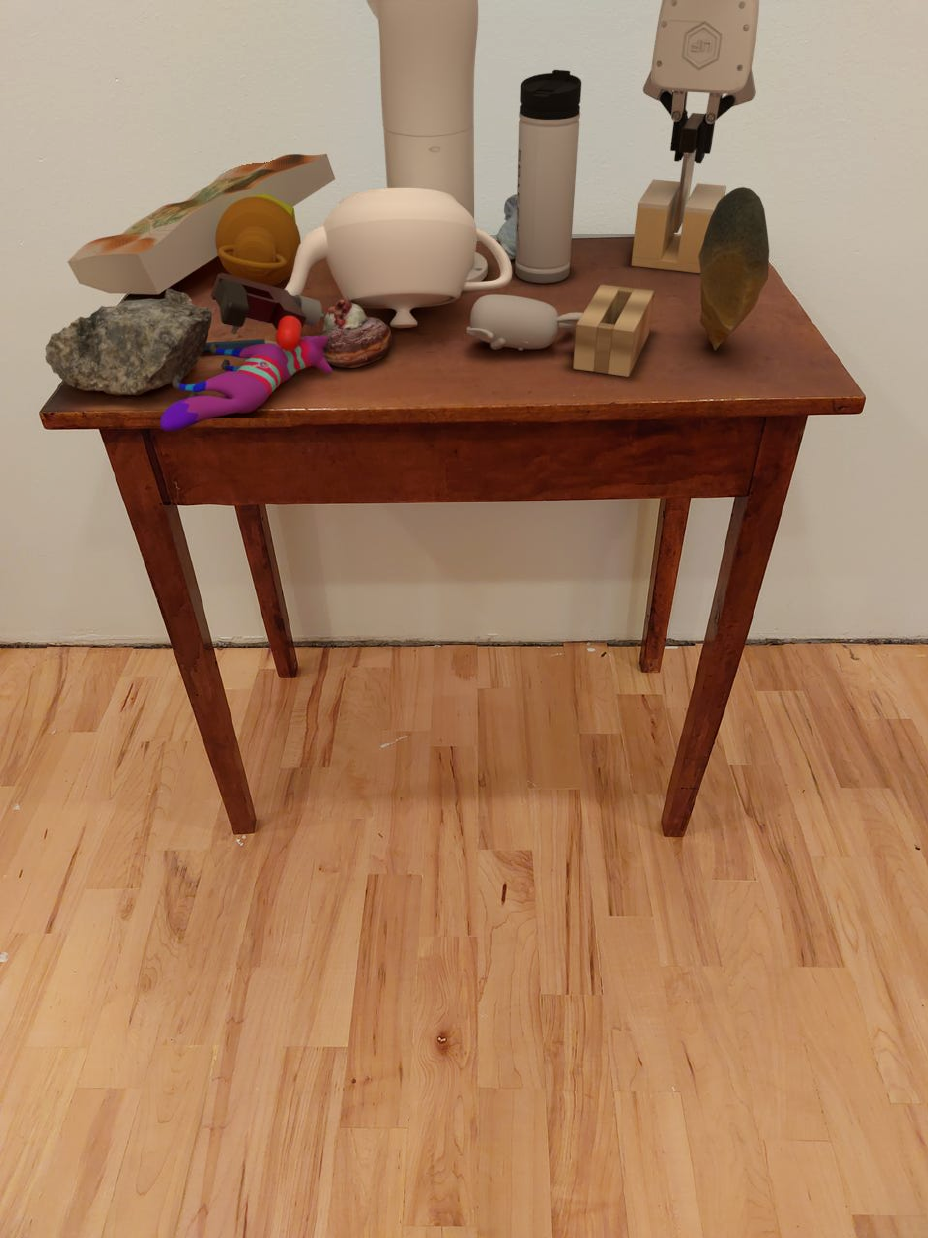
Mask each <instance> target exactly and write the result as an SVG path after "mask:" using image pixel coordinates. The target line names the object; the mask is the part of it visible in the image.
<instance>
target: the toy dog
mask: <svg viewBox="0 0 928 1238" xmlns="http://www.w3.org/2000/svg"><path fill="white" fill-rule="evenodd" d="M327 341H328V337H324V336H320V337H317V336H312V335H306V336H304V337H302V338H300V343H299V345H298V347H297V348H296V349H295V350H293V351H285V350H282V349H281V348H280V347H279V346H278V344H257V345H253V346H249V347H246V348H237V349H218V344H217V343H216V342H217V341H211V342H212V344H211V346H210V351H211V353H210V354H214V355H224V356H229V357H233V358H239V359H245V361H244V362H243V363H242V364H241V365H240V366H235V365H231V362H230V360H229V359H226V358H224V360H222V363H221V365H220V366H221V369H222V370H224V371H225V372H223V373H220V374H217V375H215V376H212V377H211V378H208V379H206V380H204V381H201V382H198V383H182V382H183V379H182V378H181V377H180V376H178V375H177V376H175V377H174V379H173V383H172V387H173V388H174V389H176V390H179V391H183V392H184V391H186V392H190V394H189V396H188V397H187V398H183V399H181V400H178V401H176V402H175V403H173V404H171V405H170V406H169V407H167V408H166V410H165V411H164V412H163V413H162V415H161V417H160V420H159V425H160V428H161V430H163V431H165V432H177V431H180V430H184V429H187V428H189V427H191V426H194V425H196V424H198V423H200V422H203V421H205V420H206V421H207V420H210V419H213V418H218V417H219V418H220V417H224V416H229V415H233V414H234V415H235V414H241V415H243V414H249V413H253V412H254V411H256V410H257V409H258V408H260V407H261V406H262V405H263V404H264V403H265V402H266V400H268V398H269V396H270V395H271V394H272V393H274V392H275V390H277V388H278V387H279V386H280V385H281V384H282V383H284V382H286V381H288V380H289V379H290V378H291V377H292V376H293V375H294V374H295V373H297V372H299V371H301V370H303V369H306V368H309V367H311V366H313V367H316V368H317V369H318V370H321V371H322V372H324V373H325V374H326V373H327V374H333V369H332V367H331V366H330V364H329V363H327V361H326V360H325V358H324V353H323V347H324V346H325V345H326V343H327ZM201 392H216V393H220V394H222V395H224V396H221V397H220V396H219V397H218V396H213V395H198V393H201Z"/></svg>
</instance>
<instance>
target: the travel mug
mask: <svg viewBox="0 0 928 1238" xmlns="http://www.w3.org/2000/svg"><path fill="white" fill-rule="evenodd" d="M519 91H520V93H519V94H520V96H519V99H520V100H519V102H520V106H519V112H518V117H519V121H518V148H517V149H518V151H517V153H518V155H517V186H516V187H517V189H516V190H517V191H516V194H517V223H516V259H515V265H514V267H515V268H514V273H515V275H516V276H517V277H518V278H519V279H520V280H522V281H524V282H527V283H532V284H542V285H545V284H554V283H559V282H562V281H564V280H565V279H567V278H568V277H569V275H570V271H571V258H572V256H571V255H572V243H573V242H572V240H573V228H574V227H573V225H574V211H575V196H576V195H575V194H576V180H577V179H576V178H577V167H578V166H577V165H578V151H579V150H578V148H579V133H580V121H579V120H580V117H581V112H580V109H581V107H580V104H581V96H582V94H581V92H582V80H581V79H580V78H579V77H578V76H576V75H573V74H571V71H570V70H565V69H564V70H563V69H553V70H552V71H551V72H546V73H540V74H535V75H532V76H528V77H527V78H525V79H523V80H522V81H521V83H520V90H519Z"/></svg>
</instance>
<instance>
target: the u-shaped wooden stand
mask: <svg viewBox="0 0 928 1238" xmlns="http://www.w3.org/2000/svg"><path fill="white" fill-rule="evenodd" d="M679 186H680V181H675V180H664V179H652V180H651V182H650V184H648V187H647V188H646V190H645V192H644V193H643V194H642V196H641V197H640V199H639V200H638V202H637V209H636V220H635V228H634V237H633V238H634V239H633V246H632V255H631V266H633V267H639V268H649V269H656V270H657V269H658V270H665V271H666V270H667V271H675V272H676V271H677V272H685V273H692V274H693V273H694V274H700V265H699V258H698V255H699V252H700V250H701V247H702V244H703V241H704V236H705V233H706V230H707V227H708V224H709V221H710V218H711V216H712V214H713V212H714V210H715V208H716V206H717V204H718V202H719V201H720V200H721V199H722V198H723V197H724V196H725V195H726V189H727V185H721V184H709V183H699V182H697V183H696V185H695V187H694V188H693V190H692V192H691V193H690V197H689V200H688V202H687V204H686V205H685V209H684V216H683V223H682V225H681V231H680V235H679V234H678V235H677V234H676V233H673V230H674V223H675V216H676V208H677V201H678V193H679Z"/></svg>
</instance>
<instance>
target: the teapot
mask: <svg viewBox="0 0 928 1238" xmlns="http://www.w3.org/2000/svg"><path fill="white" fill-rule="evenodd" d="M478 241H479V242H480V243H481V244H482V245H484V246H485V247H486V248H487V249H488V250H489V251H490V253H491V254H492V255H493V257H494V258H495V260H496V262H497V265H498V269H499V273H500V274H499V277H498V278H496V279H493V280H488V281H481V282H466V280H467V277H468V274H469V271H470V268H471V265H472V262H473V259H474V255H475V252H476V249H477V243H478ZM322 260H325V261H326V264H327V267H328V269H329V271H330V273H331V276H332V279H333V280H334V282H335V284H336V286H337V288H338V290H339V292H340V294H341V297H342V298H343V297H348V298H349V300H350V301H351V303H352V304H356V305H358V306H359V307H361V308H365V309H392V310H394V311H395V312H396V314H395V316H394V317H393V318H392V320H391V321H390V323H389V325H390V327H391V328H395V329H410V328H411V329H412V328H413V327H417V326H418V321H417V320H416V319H415V318H414V316H413V315H412V314H411V310H413V309H416V308H427V307H436V306H437V307H438V306H442V305H447V304H451V303H454V302H456V301H457V300H459V299H460V297H461V295H462V292H484V291H485V292H486V291H488V292H489V291H494V290H495V291H496V290H500V289H503V288H505V287H507V285H509V284H510V283H511V281H512V279H513V266H512V263H511V260H510V259H509V257H508V255H507V253H506V252H505V250H504V249H503V248H502V246H501V245H500V242H498V240H497V239H495V238H494V237H492V236H491V235H489V234H488V233H487V232H485V231H484V230H483V229H481V228H479V227H477V224H476V221H475V218H474V219H473V217H472V216H471V214H470V213H469V212H468V211H467V210H466V209H465V208H464V207H463V206H462V205H460V204H459V203H458V202H457V201H456V199H455V198H454V197H453V196H451V195H449V194H447V193H444V192H440V191H436V190H431V189H423V188H387V187H385V188H375V189H369V190H363V191H359V192H355V193H352V194H349V195H347V196H345V197H343V198H342V199H341V200H340V201H339V202H338V204H337V206H336V207H334V208H333V209H332V210H331V211H330V213H329V214H328V215H327V216H326V217H325V219H324V221H323V223H322V225H321V226H317V227H314V228H313V229H312V230H311V231H309V232H308V233H307V234H305V235H304V236H303V238H302V240H301V243H300V245H299V247H298V250H297V254H296V257H295V262H294V267H293V271H292V273H291V274H290V277H289V282H288V283H287V285H286V287H285V288H284V290H287V291H288V292H289V293H290V295H292V296H295V295H301V296H302V294H303V292H304V289H305V287H306V283H307V280H308V277H309V273H310V271H311V268H312V267H313V266H314V265H315V264H316V263H317V262H319V261H322Z"/></svg>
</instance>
